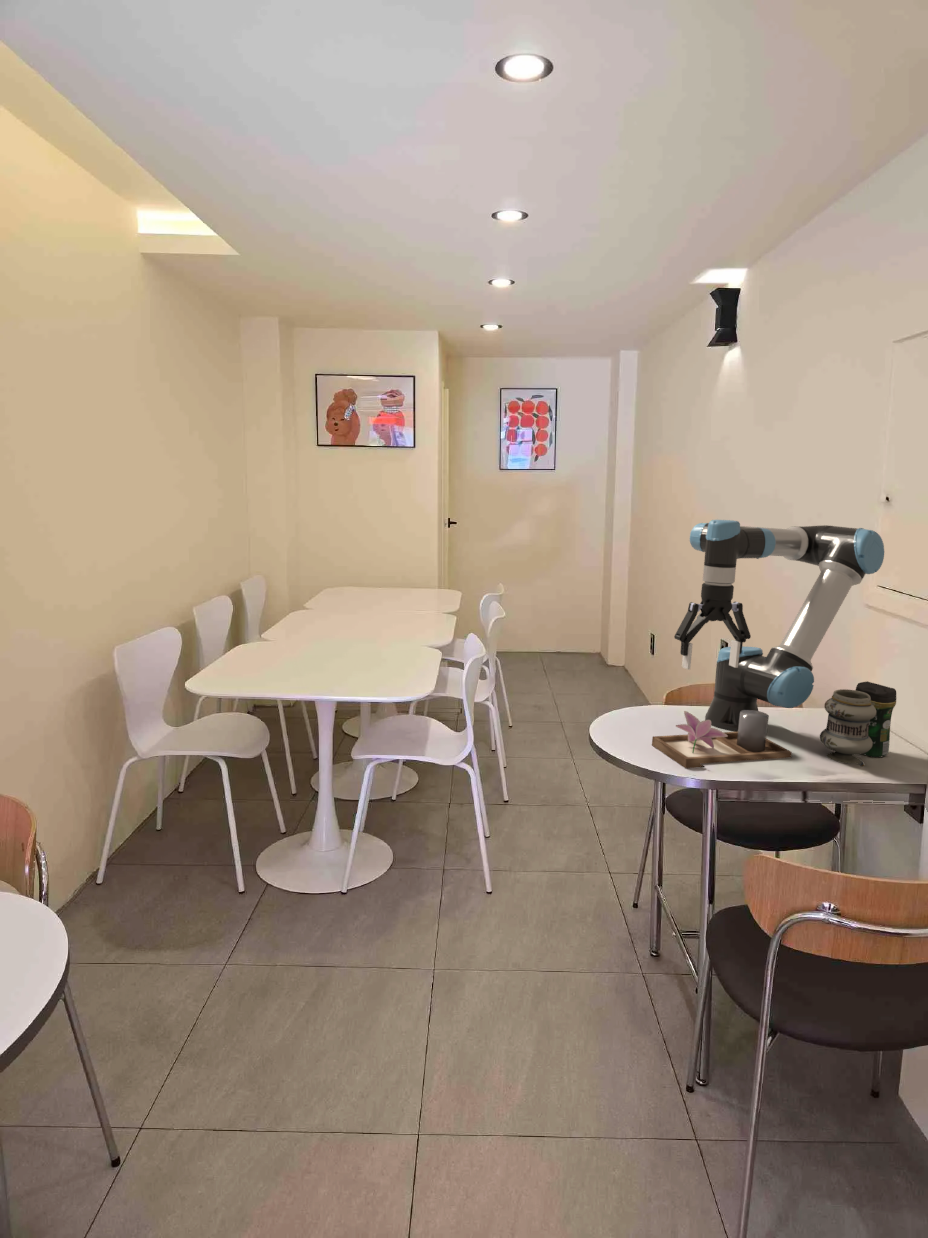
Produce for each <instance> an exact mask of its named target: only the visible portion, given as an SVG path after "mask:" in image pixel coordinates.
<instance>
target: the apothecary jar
mask: <svg viewBox="0 0 928 1238" xmlns="http://www.w3.org/2000/svg"><path fill="white" fill-rule="evenodd" d="M824 710H825V712H827V714H828V716H827V723H826V728H825V729H823V730H822V731H821V732H820V734H819V740H820V742H821V744H823V745H824V747H825V748H827V749H829V750H830V751H831V752H828V753H826V755H825V756H826V757H827V758H828V759H830V760H832V761H834V762H838V763H843V764H856V765H858V766H860V767H863V766H864V767H865V763H864V762H863V761H862V759H860V758H858V757H857V756H858V755H864V754H863V753H866V752H868V751H869V750H870V749H871V748H872V740H871V738H870V737H869V736H868V730H869V722H870V719H872V718H874V717H875V715H876V709H875V707H874V706H873V705H872V704H871V697H870V695H868V694H867V693H864V692H860V691H856V689H854V690H853V689H847V688H845V689H836V690H834V691H833V693H832V696H831V697H830V698H828V699H827V700H826V701H825V703H824Z"/></svg>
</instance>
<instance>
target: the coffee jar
mask: <svg viewBox="0 0 928 1238" xmlns="http://www.w3.org/2000/svg"><path fill="white" fill-rule="evenodd" d="M855 690H856V691H860V692H864V693H867V694H868V695H870V697H871V704H872V705H873V706H874V707H875V709H876V715H875V717H874V718H872V719H870V722H869V730H868V736H869V737H870V738H871V740H872V748H871V749H870V750H869V751H868V752H866V753H863V754H862V755H864V754H865V756H867V757H870V756H872V758H882V757H881V756H883V757H885V756H887V755H889V752H890V739H891V738H890V735H891V723H892V722H891V721H892V716H893V711H894V709H895V707H896V705H897V690H896V689H895V688H893V687H890V686H886V685H882V684H879V683H874V682H871V681H867V680H866V681H862V682H859V683H857V685H856V687H855Z"/></svg>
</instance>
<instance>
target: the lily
mask: <svg viewBox="0 0 928 1238" xmlns="http://www.w3.org/2000/svg"><path fill="white" fill-rule="evenodd" d="M683 712H684V713H683V714H684V718H685V721H686V723H682V724H681V723H680V724H675V727H676V728H678V729H680V730H683V731H685V732H687V734H688V741H689V742H693V741H695V742H694V746H693V752H692V753H694V748H695V743H696V741H697V740H702V741H704V742H705V743H706V744H708V745H709V746H710V747H712V748H714V744H713V741H712V739H711V738H716V737H727V735H726V734H725V733H723V731H721V730H719V728H716V727H712V726H711V720H705V719H704V720H700V719H699V718H697V717H696V716H695V715H694V714H692V713H690V712H689V711H686V710H684V711H683Z"/></svg>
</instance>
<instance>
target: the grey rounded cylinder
mask: <svg viewBox="0 0 928 1238" xmlns="http://www.w3.org/2000/svg"><path fill="white" fill-rule="evenodd" d="M768 725H769V714H768V713H765V712H764V711H759V710H758V711H755V710H743V711H740V717H739V726H738V735H737V745H738V746H740V747H742V748H744V749H745V750H747V751H750V752H762V751H764V750H765V744H766V739H767V735H768V734H767V733H768Z"/></svg>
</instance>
